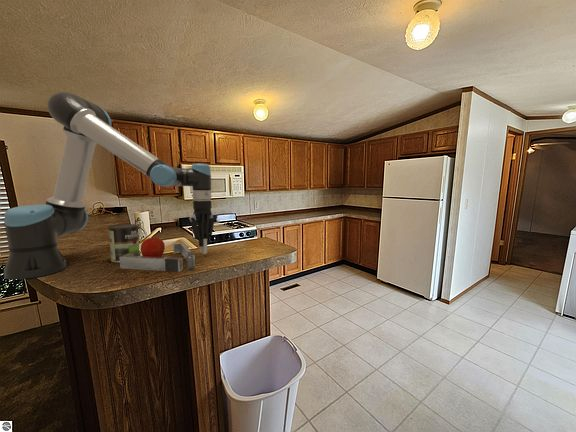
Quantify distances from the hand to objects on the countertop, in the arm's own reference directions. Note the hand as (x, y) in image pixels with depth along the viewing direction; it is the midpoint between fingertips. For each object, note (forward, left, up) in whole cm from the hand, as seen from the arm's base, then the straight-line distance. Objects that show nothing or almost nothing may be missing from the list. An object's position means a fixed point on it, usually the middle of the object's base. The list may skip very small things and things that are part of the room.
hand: (203, 252), depth 106 cm
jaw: (-6, -6, -1) cm, 9 cm away
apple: (-15, -13, -2) cm, 20 cm away
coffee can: (-30, -9, -2) cm, 32 cm away
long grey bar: (-10, -18, -1) cm, 20 cm away
